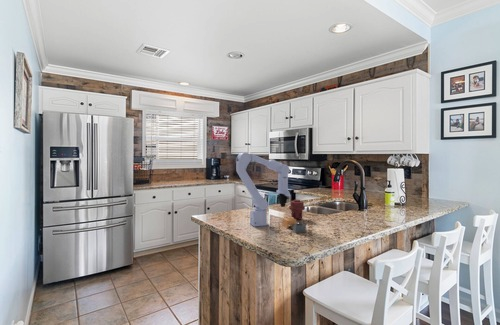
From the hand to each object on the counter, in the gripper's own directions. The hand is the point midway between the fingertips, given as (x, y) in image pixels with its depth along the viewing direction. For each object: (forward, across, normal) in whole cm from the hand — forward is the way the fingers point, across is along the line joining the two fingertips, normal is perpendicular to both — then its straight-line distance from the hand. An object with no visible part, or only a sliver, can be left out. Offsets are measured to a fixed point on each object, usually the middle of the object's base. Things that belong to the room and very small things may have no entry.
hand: (282, 206), depth 163 cm
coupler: (+10, -16, 0) cm, 19 cm away
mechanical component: (+10, +6, -13) cm, 17 cm away
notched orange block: (+10, -8, 0) cm, 13 cm away
